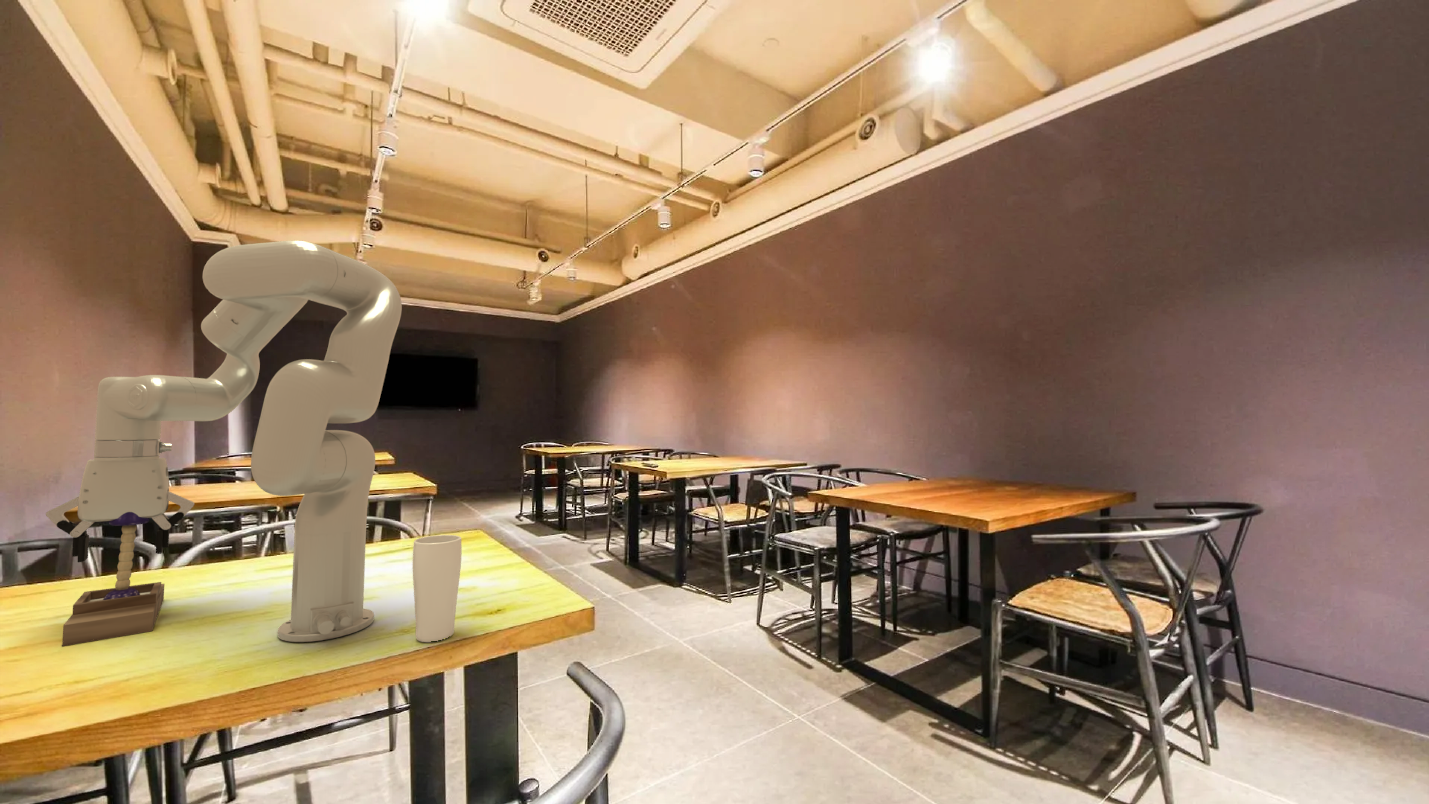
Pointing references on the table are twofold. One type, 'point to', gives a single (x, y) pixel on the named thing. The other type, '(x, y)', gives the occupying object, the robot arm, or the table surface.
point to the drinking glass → (436, 585)
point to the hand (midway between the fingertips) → (122, 556)
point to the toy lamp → (126, 554)
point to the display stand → (113, 614)
